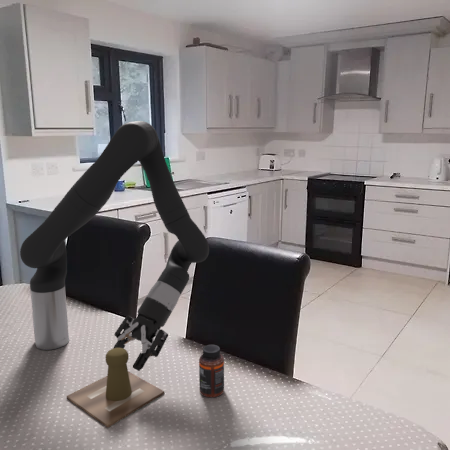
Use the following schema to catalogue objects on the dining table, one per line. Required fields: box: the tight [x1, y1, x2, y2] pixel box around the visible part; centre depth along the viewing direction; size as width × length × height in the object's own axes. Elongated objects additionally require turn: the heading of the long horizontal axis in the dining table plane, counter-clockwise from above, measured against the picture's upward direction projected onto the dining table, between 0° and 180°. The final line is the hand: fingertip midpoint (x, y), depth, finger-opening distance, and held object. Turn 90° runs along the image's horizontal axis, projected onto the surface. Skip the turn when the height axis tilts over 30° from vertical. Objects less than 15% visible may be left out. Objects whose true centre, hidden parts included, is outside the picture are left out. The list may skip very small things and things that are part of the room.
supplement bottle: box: [198, 344, 225, 398], centre depth 103 cm, size 6×6×11 cm
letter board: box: [66, 370, 165, 428], centre depth 102 cm, size 16×16×1 cm
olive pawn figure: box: [105, 347, 132, 401], centre depth 101 cm, size 6×6×11 cm
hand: (124, 363), depth 103 cm, fingers open, 8 cm apart
